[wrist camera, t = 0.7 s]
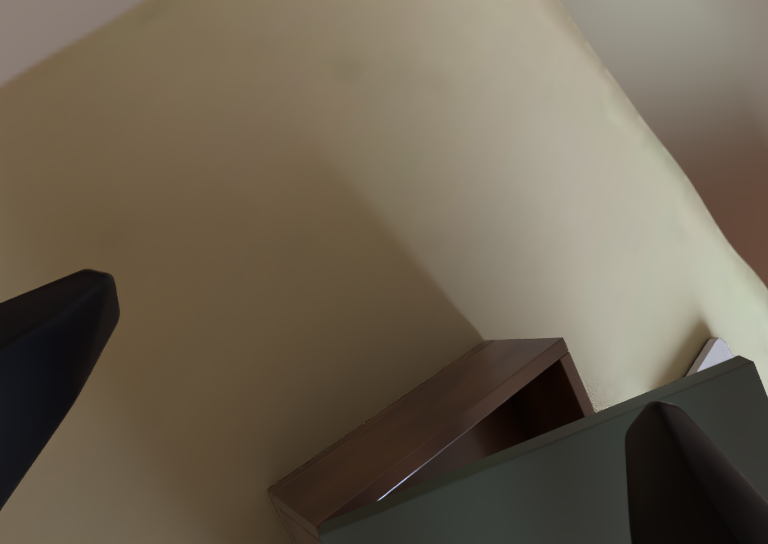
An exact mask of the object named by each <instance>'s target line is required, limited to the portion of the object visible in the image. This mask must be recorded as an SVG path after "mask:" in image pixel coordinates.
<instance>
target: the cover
mask: <svg viewBox="0 0 768 544" xmlns="http://www.w3.org/2000/svg"><path fill="white" fill-rule="evenodd" d="M652 400H658V401H663V402H667V403H671V404H675V405H677V406H679V407H680V408H681V409H682V410H684V412H685V413H686V414H687V415H688V416H689V417H690V418H691V419H692V420H693V421H694V422H695V423H696V425H697V426H698V427H699V428H700V429H701V430H702V431H703V432H704V433H705V434H706V435H707V436H708V437H709V439H710V440H711V441H712V442H713V443H714V444H715V445H716V446H717V447H718V448H719V449H720V450H721V451H722V453H723V454H724V455H725V456H726V457H727V458H728V459H729V460H730V461H731V462H732V463H733V464H734V465H735V467H736V468H737V469H738V470H739V471H740V472H741V473H742V474H743V475H744V476H745V477H746V478H747V479H748V481H749V482H750V483H751V484H752V485H753V486H754V487H755V488H756V489H757V490H758V491H759V492H760V493H761V495H762V496H763V497H764V498H765V499H766V500H767V501H768V397H767V394H766V392H765V389H764V387H763V384H762V382H761V379H760V377H759V374H758V371H757V369H756V366H755V364H754V362H753V361H751V360H748V359H746V358H744V357H742V356H736V357H733V358H731V359H728V360H726V361H723V362H721V363H719V364H716V365H714V366H711V367H709V368H706V369H704V370H701V371H699V372H696V373H694V374H691V375H689V376H686V377H684V378H681V379H679V380H676V381H674V382H671V383H669V384H666V385H664V386H661V387H659V388H656V389H654V390H651V391H649V392H647V393H644V394H642V395H639V396H637V397H634V398H632V399H629V400H627V401H624V402H622V403H619V404H617V405H614V406H612V407H609V408H607V409H604V410H602V411H599V412H597V413H594V414H592V415H589V416H587V417H584V418H582V419H579V420H577V421H574V422H572V423H570V424H567V425H565V426H562V427H560V428H557V429H555V430H552V431H550V432H547V433H545V434H542V435H540V436H537V437H535V438H532V439H530V440H527V441H525V442H522V443H520V444H517V445H515V446H512V447H510V448H507V449H505V450H502V451H500V452H497V453H495V454H493V455H490V456H488V457H485V458H483V459H480V460H478V461H475V462H473V463H470V464H468V465H465V466H463V467H460V468H458V469H455V470H453V471H450V472H448V473H445V474H443V475H440V476H438V477H435V478H433V479H430V480H428V481H425V482H423V483H420V484H418V485H416V486H413V487H411V488H408V489H406V490H403V491H401V492H398V493H396V494H393V495H391V496H388V497H386V498H383V499H381V500H378V501H376V502H373V503H371V504H368V505H366V506H363V507H361V508H358V509H356V510H353V511H351V512H348V513H346V514H344V515H341V516H339V517H336V518H334V519H331V520H329V521H326V522H324V523H322V524H321V528H320V531H319V535H318V537H319V539H320V541H321V543H322V544H632V543H631V536H630V527H629V514H628V495H627V477H626V458H625V436H626V432H627V430H628V428H629V426H630V425H631V424H632V422H633V421H634V420H635V418H636V417H637V416H638V415H639V413H640V412H641V411H642V409H643V408H644V407H645V405H646V404H647V403H648V402H650V401H652Z"/></svg>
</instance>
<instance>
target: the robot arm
mask: <svg viewBox="0 0 768 544" xmlns="http://www.w3.org/2000/svg"><path fill="white" fill-rule="evenodd" d="M119 316H120V308H119V302H118V296H117V291H116V285H115V280H114V278H113V276H112V275H111V274H109V273H105V272H101V271H97V270H92V269H84V270H81V271H78V272H76V273H73V274H71V275H68V276H66V277H63V278H61V279H58V280H56V281H53V282H51V283H49V284H46V285H44V286H41V287H39V288H36V289H34V290H31V291H29V292H27V293H24V294H22V295H19V296H17V297H14V298H12V299H9V300H7V301H4V302H2V303H0V511H1V509H2V508H3V506H4V505H5V503H6V502H7V501H8V499H9V498H10V496H11V495H12V493H13V492H14V490H15V489H16V487H17V486H18V485H19V483H20V482H21V480H22V479H23V477H24V476H25V474H26V473H27V471H28V470H29V469H30V467H31V466H32V464H33V463H34V461H35V460H36V458H37V457H38V455H39V454H40V453H41V451H42V450H43V448H44V447H45V445H46V444H47V442H48V441H49V439H50V438H51V437H52V435H53V434H54V432H55V431H56V429H57V428H58V426H59V425H60V423H61V422H62V421H63V419H64V418H65V416H66V415H67V413H68V412H69V410H70V409H71V407H72V406H73V404H74V403H75V401H76V399H77V397H78V396H79V394H80V392H81V390H82V389H83V387H84V385H85V383H86V381H87V379H88V377H89V376H90V374H91V372H92V370H93V368H94V366H95V364H96V363H97V361H98V359H99V357H100V355H101V353H102V351H103V349H104V348H105V346H106V344H107V342H108V340H109V338H110V336H111V335H112V333H113V331H114V329H115V327H116V325H117V323H118V320H119ZM625 458H626V477H627V495H628V514H629V527H630V536H631V543H632V544H768V501H767V500H766V499H765V498H764V497H763V496H762V495H761V493H760V492H759V491H758V490H757V489H756V488H755V487H754V486H753V485H752V484H751V483H750V482H749V481H748V479H747V478H746V477H745V476H744V475H743V474H742V473H741V472H740V471H739V470H738V469H737V468H736V467H735V465H734V464H733V463H732V462H731V461H730V460H729V459H728V458H727V457H726V456H725V455H724V454H723V453H722V451H721V450H720V449H719V448H718V447H717V446H716V445H715V444H714V443H713V442H712V441H711V440H710V439H709V437H708V436H707V435H706V434H705V433H704V432H703V431H702V430H701V429H700V428H699V427H698V426H697V425H696V423H695V422H694V421H693V420H692V419H691V418H690V417H689V416H688V415H687V414H686V413H685V412H684V410H682V409H681V408H680V407H679V406H677V405H675V404H671V403H667V402H663V401H658V400H652V401H650V402H648V403H647V404H646V405H645V407H644V408H643V409H642V411H641V412H640V413H639V415H638V416H637V417H636V418H635V420H634V421H633V422H632V424H631V425H630V426H629V428H628V430H627V432H626V436H625Z"/></svg>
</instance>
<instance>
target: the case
mask: <svg viewBox="0 0 768 544" xmlns="http://www.w3.org/2000/svg"><path fill="white" fill-rule="evenodd" d="M594 413H595V411H594V409H593V406H592V404H591V402H590V399H589V397H588V395H587V392H586V390H585V388H584V385H583V383H582V381H581V378H580V376H579V374H578V371H577V369H576V367H575V364H574V362H573V360H572V357H571V355H570V353H569V352H568V348H567V346H566V343H565V341H564V339H563V338H537V339H511V340H486V341H484V342H483V343H481V344H480V345H478V346H477V347H475V348H474V349H472V350H471V351H469V352H468V353H467V354H465V355H464V356H462V357H461V358H459V359H458V360H456V361H455V362H453V363H452V364H450V365H449V366H448V367H446V368H445V369H443V370H442V371H440V372H439V373H437V374H436V375H434V376H433V377H431V378H430V379H428V380H427V381H426V382H424V383H423V384H421V385H420V386H418V387H417V388H415V389H414V390H412V391H411V392H409V393H408V394H406V395H405V396H404V397H402V398H401V399H399V400H398V401H396V402H395V403H393V404H392V405H390V406H389V407H387V408H386V409H385V410H383V411H382V412H380V413H379V414H377V415H376V416H374V417H373V418H371V419H370V420H368V421H367V422H365V423H364V424H363V425H361V426H360V427H358V428H357V429H355V430H354V431H352V432H351V433H349V434H348V435H346V436H345V437H344V438H342V439H341V440H339V441H338V442H336V443H335V444H333V445H332V446H330V447H329V448H327V449H326V450H324V451H323V452H322V453H320V454H319V455H317V456H316V457H314V458H313V459H311V460H310V461H308V462H307V463H305V464H304V465H303V466H301V467H300V468H298V469H297V470H295V471H294V472H292V473H291V474H289V475H288V476H286V477H285V478H283V479H282V480H281V481H279V482H278V483H276V484H275V485H273V486H272V487H270V488H269V489H268V490H267V491H268V493H269V495H270V497H271V499H272V501H273V503H274V505H275V507H276V509H277V511H278V513H279V515H280V517H281V519H282V521H283V523H284V525H285V527H286V529H287V532H288V534H289V536H290V538H291V540H292V542H293V544H322V543H321V541H320V539H319V537H318V535H319V531H320V528H321V524H322V523H324V522H326V521H329V520H331V519H334V518H336V517H339V516H341V515H344V514H346V513H348V512H351V511H353V510H356V509H358V508H361V507H363V506H366V505H368V504H371V503H373V502H376V501H378V500H381V499H383V498H386V497H388V496H391V495H393V494H396V493H398V492H401V491H403V490H406V489H408V488H411V487H413V486H416V485H418V484H420V483H423V482H425V481H428V480H430V479H433V478H435V477H438V476H440V475H443V474H445V473H448V472H450V471H453V470H455V469H458V468H460V467H463V466H465V465H468V464H470V463H473V462H475V461H478V460H480V459H483V458H485V457H488V456H490V455H493V454H495V453H497V452H500V451H502V450H505V449H507V448H510V447H512V446H515V445H517V444H520V443H522V442H525V441H527V440H530V439H532V438H535V437H537V436H540V435H542V434H545V433H547V432H550V431H552V430H555V429H557V428H560V427H562V426H565V425H567V424H570V423H572V422H574V421H577V420H579V419H582V418H584V417H587V416H589V415H592V414H594Z"/></svg>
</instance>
